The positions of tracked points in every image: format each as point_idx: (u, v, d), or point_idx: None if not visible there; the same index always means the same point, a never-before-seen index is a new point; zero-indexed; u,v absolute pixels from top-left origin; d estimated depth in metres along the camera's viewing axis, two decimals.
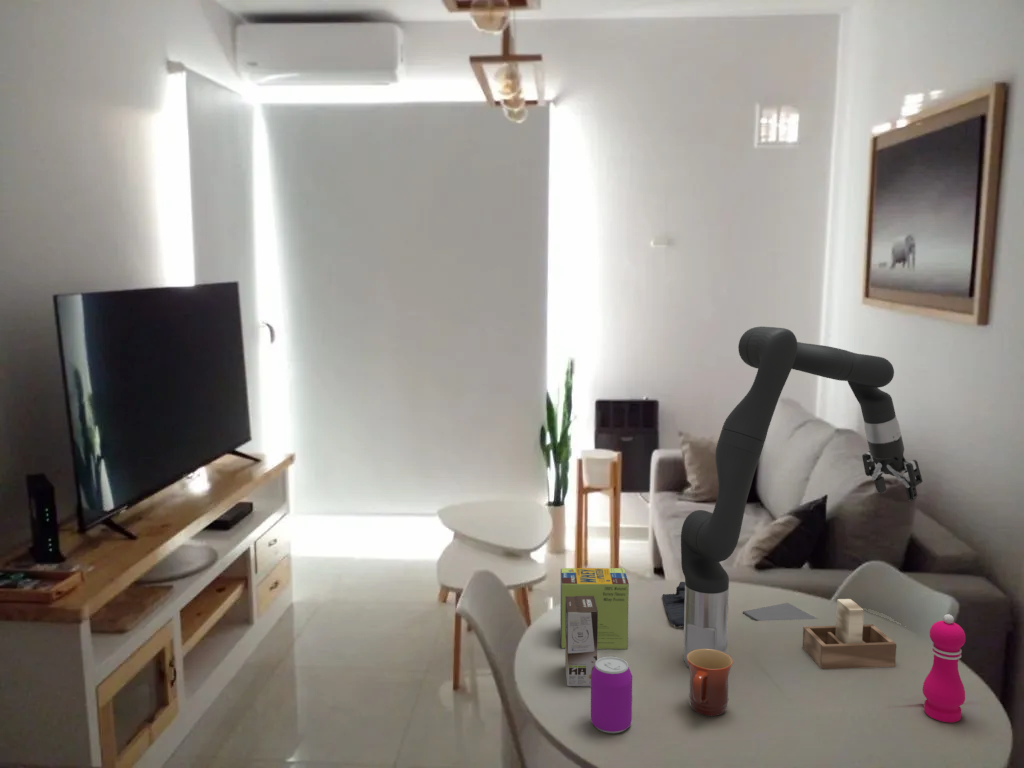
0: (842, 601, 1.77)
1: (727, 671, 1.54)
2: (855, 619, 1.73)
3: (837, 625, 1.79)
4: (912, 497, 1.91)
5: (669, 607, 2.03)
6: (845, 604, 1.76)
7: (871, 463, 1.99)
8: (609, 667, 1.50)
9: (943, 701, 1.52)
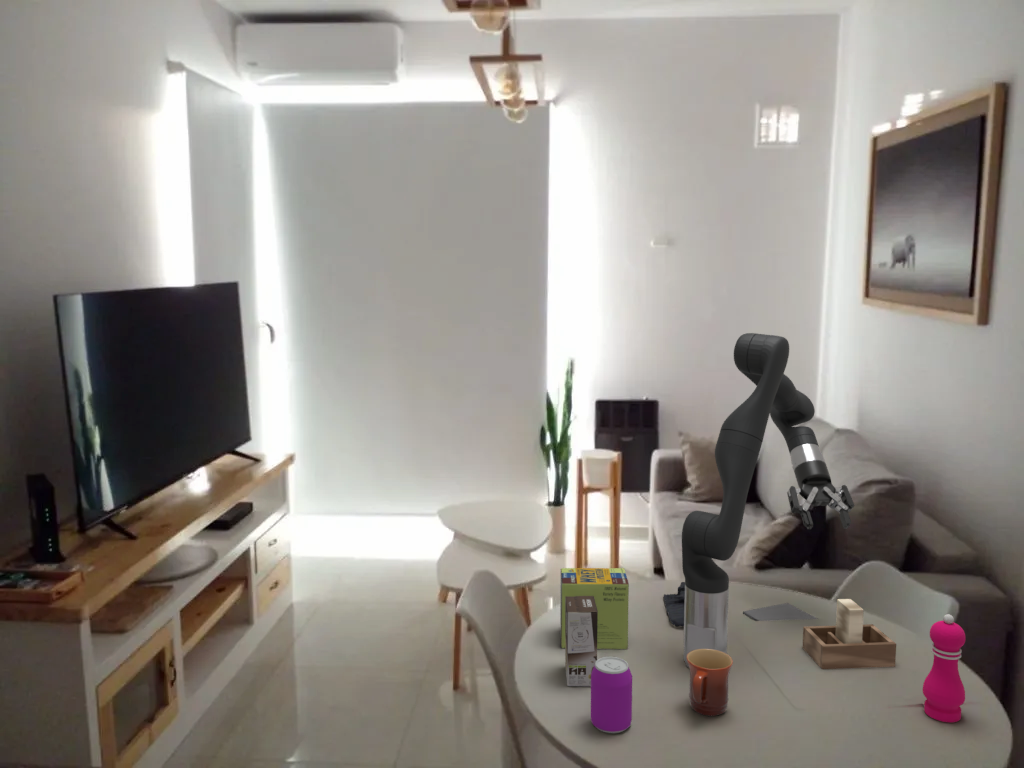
0: (842, 601, 1.77)
1: (727, 671, 1.54)
2: (855, 619, 1.73)
3: (837, 625, 1.79)
4: (849, 521, 1.86)
5: (670, 607, 2.03)
6: (845, 604, 1.76)
7: None
8: (609, 667, 1.50)
9: (943, 701, 1.52)
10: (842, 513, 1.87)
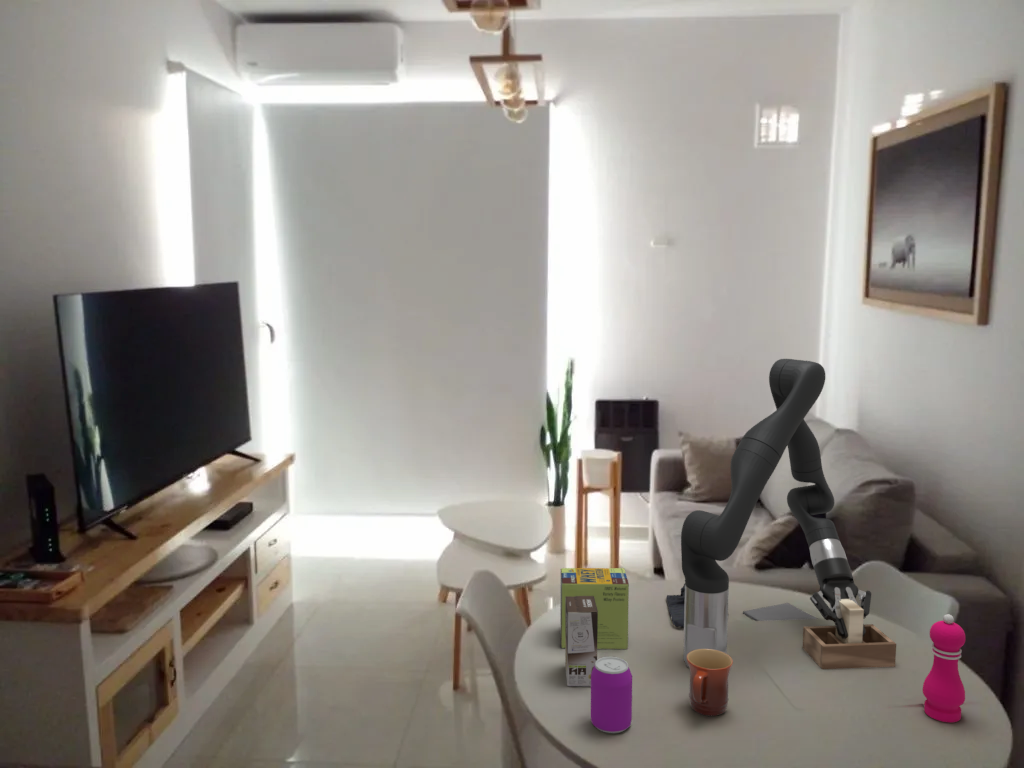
0: (843, 601, 1.77)
1: (727, 671, 1.54)
2: (855, 619, 1.73)
3: None
4: (864, 631, 1.75)
5: (672, 608, 2.02)
6: (845, 604, 1.76)
7: None
8: (609, 667, 1.50)
9: (943, 701, 1.52)
10: None
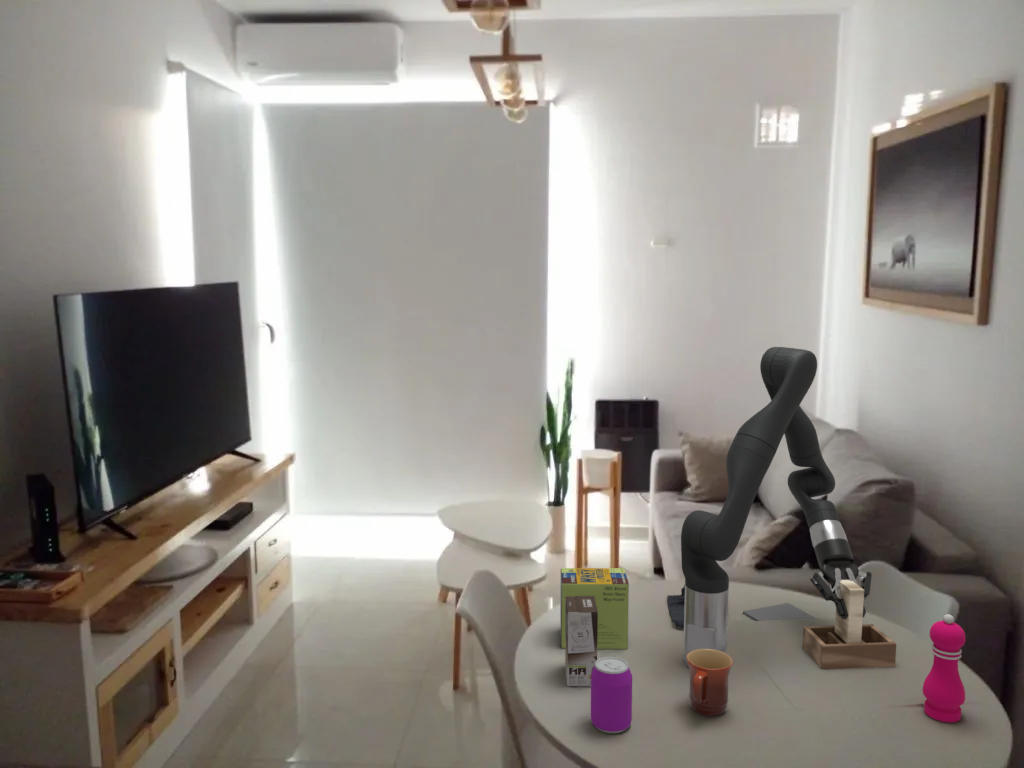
0: (843, 582, 1.77)
1: (727, 671, 1.54)
2: (855, 599, 1.73)
3: None
4: (864, 611, 1.74)
5: (673, 608, 2.02)
6: (845, 584, 1.75)
7: None
8: (609, 667, 1.50)
9: (943, 701, 1.52)
10: None
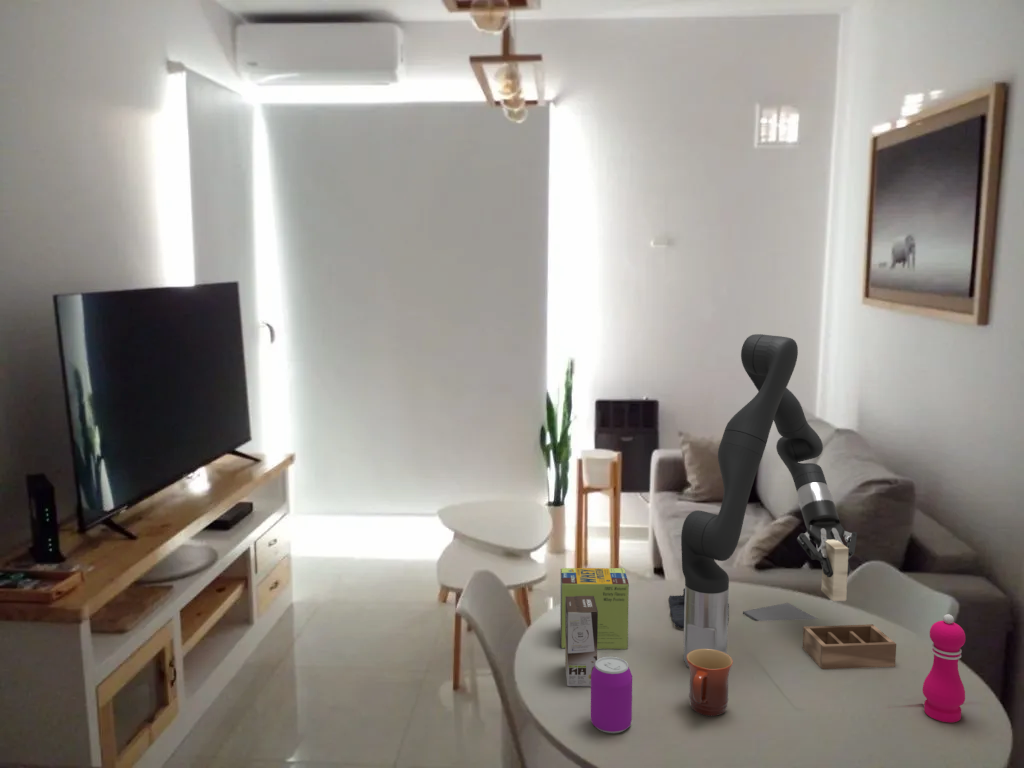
0: (828, 541, 1.81)
1: (727, 671, 1.54)
2: (840, 557, 1.77)
3: None
4: (849, 569, 1.79)
5: (674, 608, 2.02)
6: (831, 543, 1.80)
7: None
8: (609, 667, 1.50)
9: (943, 701, 1.52)
10: None
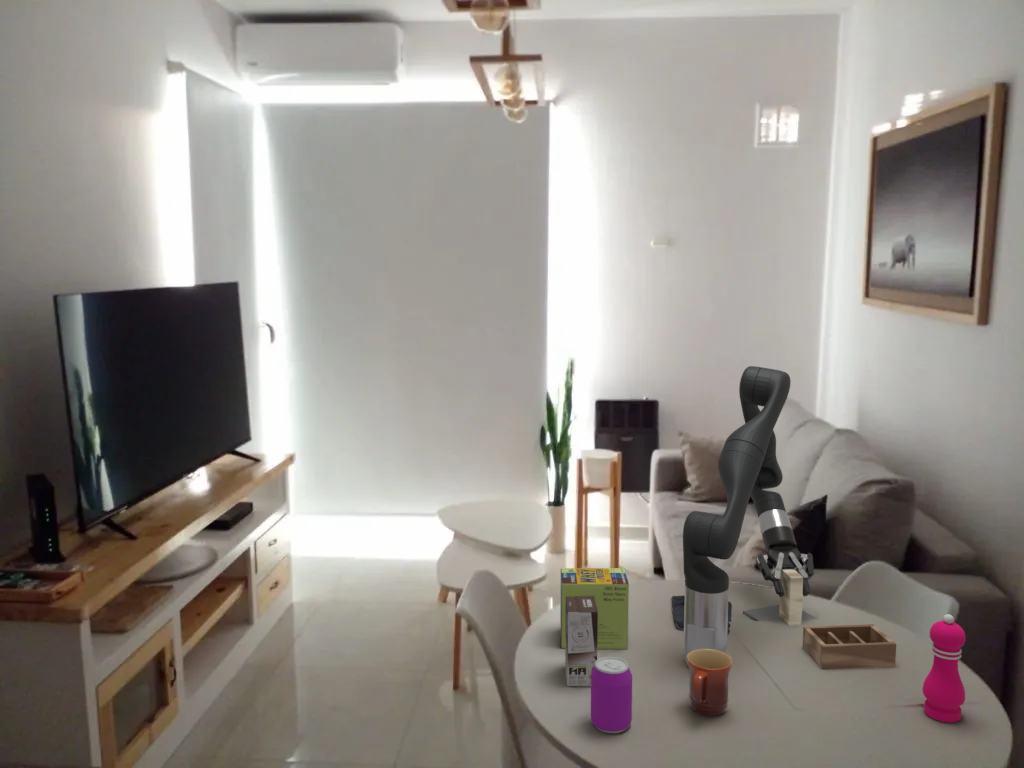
0: (785, 570, 1.97)
1: (727, 671, 1.54)
2: (795, 586, 1.93)
3: None
4: (809, 589, 1.95)
5: (676, 609, 2.02)
6: (787, 572, 1.96)
7: None
8: (609, 667, 1.50)
9: (943, 701, 1.52)
10: None
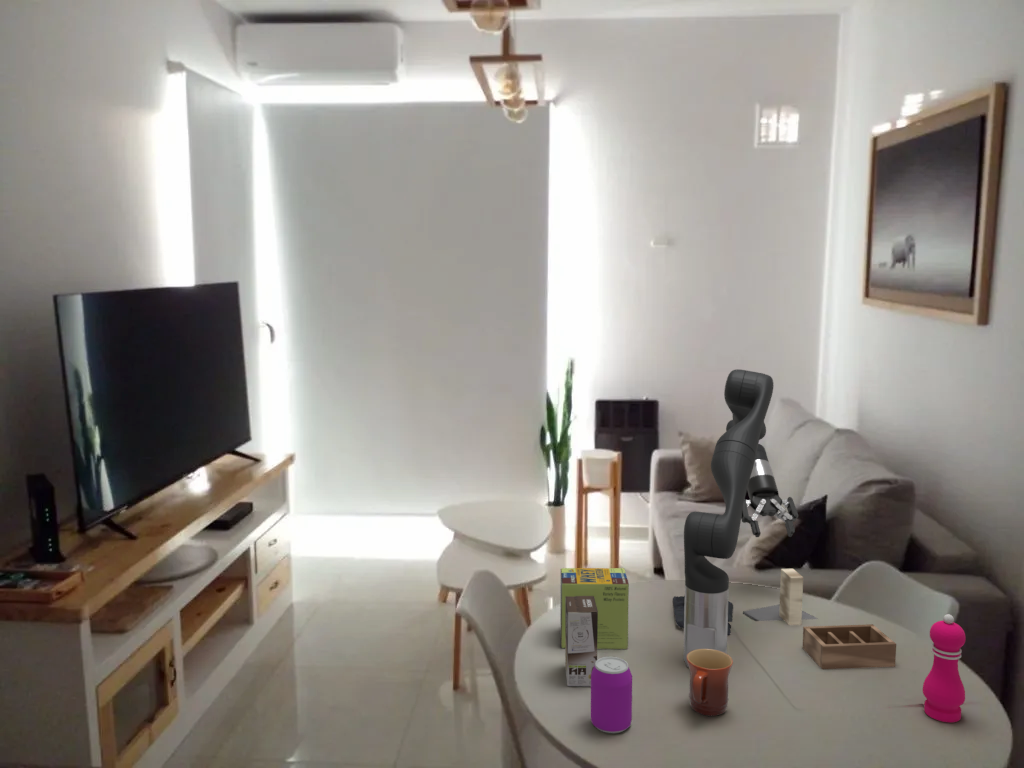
0: (785, 570, 1.97)
1: (727, 671, 1.54)
2: (795, 586, 1.93)
3: (781, 592, 1.98)
4: (793, 530, 2.07)
5: (677, 609, 2.01)
6: (787, 572, 1.96)
7: None
8: (609, 667, 1.50)
9: (943, 701, 1.52)
10: (787, 522, 2.08)
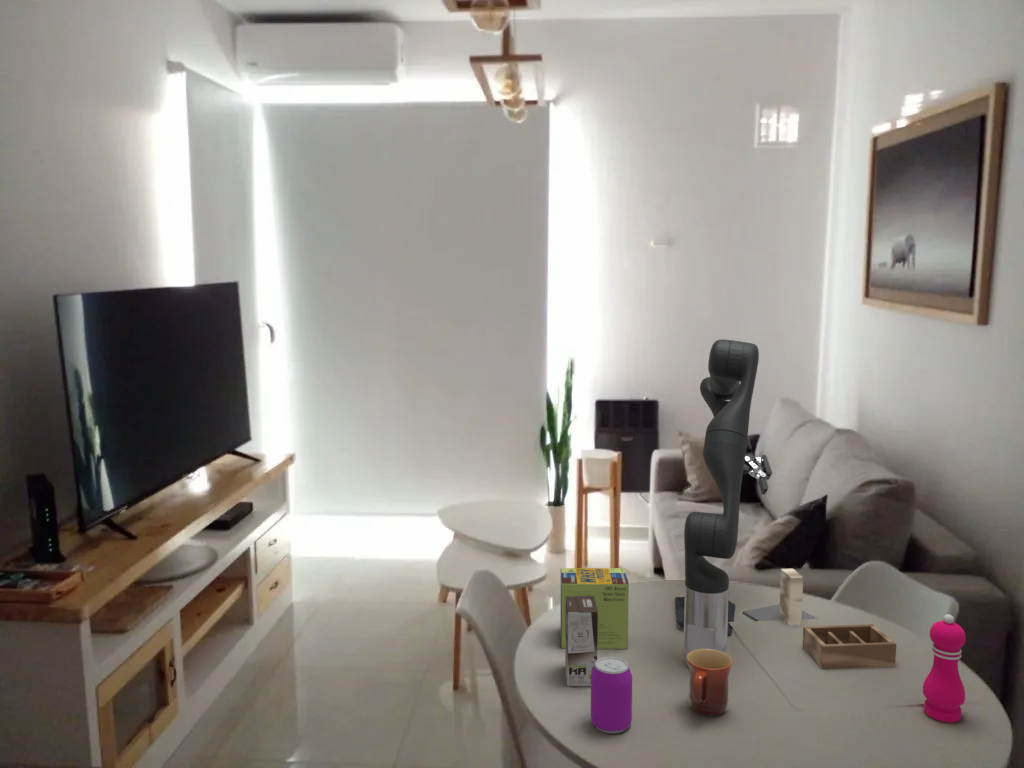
0: (785, 570, 1.97)
1: (727, 671, 1.54)
2: (795, 586, 1.93)
3: (781, 592, 1.98)
4: (767, 487, 2.00)
5: (679, 610, 2.01)
6: (787, 572, 1.96)
7: None
8: (609, 667, 1.50)
9: (943, 701, 1.52)
10: (760, 480, 2.01)
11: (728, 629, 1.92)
